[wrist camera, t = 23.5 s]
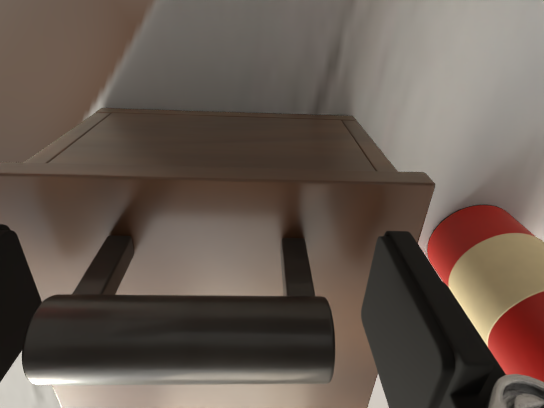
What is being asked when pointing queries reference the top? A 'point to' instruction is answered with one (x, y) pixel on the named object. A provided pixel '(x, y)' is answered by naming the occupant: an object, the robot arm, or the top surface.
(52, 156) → the bread box
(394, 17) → the top surface
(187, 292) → the bread box lid
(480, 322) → the ketchup bottle
